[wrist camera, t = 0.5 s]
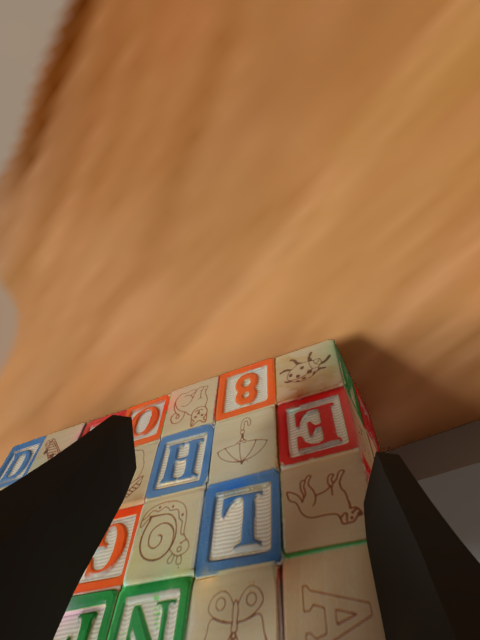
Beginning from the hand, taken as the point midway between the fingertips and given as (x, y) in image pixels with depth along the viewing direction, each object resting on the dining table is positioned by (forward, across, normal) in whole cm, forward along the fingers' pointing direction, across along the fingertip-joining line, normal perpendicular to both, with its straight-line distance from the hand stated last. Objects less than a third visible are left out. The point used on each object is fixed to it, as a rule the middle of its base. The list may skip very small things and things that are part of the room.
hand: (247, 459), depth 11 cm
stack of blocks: (+9, +5, +7) cm, 12 cm away
